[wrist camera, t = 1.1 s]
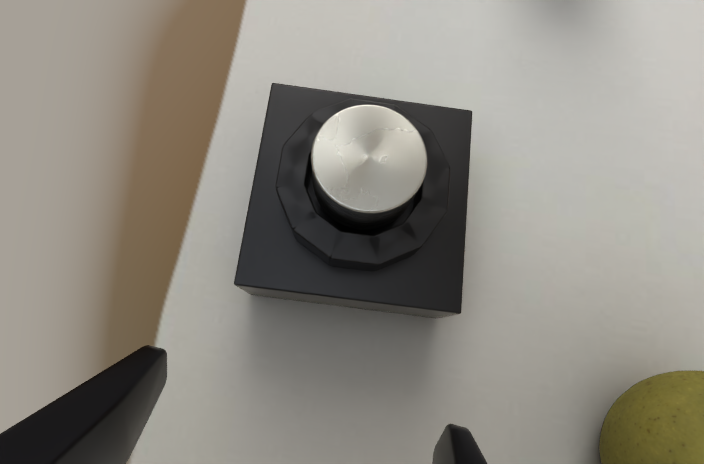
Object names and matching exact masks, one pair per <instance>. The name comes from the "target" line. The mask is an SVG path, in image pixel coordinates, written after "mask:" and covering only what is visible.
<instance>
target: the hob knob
mask: <svg viewBox="0 0 704 464" xmlns="http://www.w3.org/2000/svg"><path fill="white" fill-rule="evenodd" d="M311 167H312V179H313V188H314V193H315V195H316V198H317V200H318V202H319V204H320V206H321V207H322V209H323V210H324V211H325V212H326V213H327V214H328V215H329V216H330V217H331V218H332V219H334V220H335V221H337V222H338V223H340V224H342V225H345V226H347V227H350V228H355V229H363V230H367V229H376V228H380V227H383V226H386V225H388V224H390V223H392V222H393V221H395V220H396V219H397V218H399V217H400V216H401V215H402V214H403V213H404V211H405V210H406V209H407V207H408V206H409V204H410V203H411V201H412V199H413V198H414V196H415V194H416V193H417V191H418V190H419V188H420V186H421V184H422V182H423V180H424V177H425V174H426V169H427V152H426V148H425V144H424V142H423V140H422V137H421V136H420V134H419V132H418V131H417V129H416V128H415V127H414V125H413V124H412V123H411V122H410V121H409V120H407V119H406V118H405V117H404V116H402V115H401V114H399V113H397V112H396V111H393V110H391V109H389V108H386V107H382V106H377V105H358V106H353V107H349V108H346V109H344V110H341V111H339V112H338V113H336V114H334V115H333V116H332V117H330V118H329V119H328V120H327V121H326V122H325V123H324V124H323V125H322V127H321V128H320V129H319V131H318V133H317V134H316V136H315V139H314V141H313V145H312V149H311Z"/></svg>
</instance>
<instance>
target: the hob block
mask: <svg viewBox="0 0 704 464" xmlns="http://www.w3.org/2000/svg"><path fill="white" fill-rule="evenodd" d="M358 105H377V106H382V107H386V108H389V109H391V110H393V111H396V112H397V113H399V114H401V115H402V116H404V117H405V118H406V119H407V120H409V121H410V122H411V123H412V124H413V125H414V127H415V128H416V129H417V131H418V132H419V134H420V136H421V137H422V140H423V142H424V144H425V148H426V152H427V169H426V174H425V177H424V180H423V182H422V184H421V186H420V188H419V190H418V191H417V193H416V194H415V196H414V198H413V199H412V201H411V203H410V204H409V206H408V207H407V209H406V210H405V211H404V213H403V214H402V215H401V216H400V217H399V218H397V219H396V220H395V221H393V222H392V223H390V224H388V225H386V226H383V227H380V228H376V229H367V230H363V229H355V228H350V227H347V226H345V225H342V224H340V223H338V222H337V221H335V220H334V219H332V218H331V217H330V216H329V215H328V214H327V213H326V212H325V211H324V210H323V209H322V207H321V206H320V204H319V202H318V200H317V198H316V195H315V193H314V188H313V179H312V167H311V149H312V145H313V141H314V139H315V136H316V134H317V133H318V131H319V129H320V128H321V127H322V125H323V124H324V123H325V122H326V121H327V120H328V119H329V118H330V117H332V116H333V115H334V114H336V113H338V112H339V111H341V110H344V109H346V108H349V107H353V106H358ZM471 125H472V111H469V110H462V109H455V108H448V107H441V106H434V105H427V104H420V103H412V102H405V101H398V100H391V99H384V98H377V97H370V96H363V95H355V94H348V93H341V92H334V91H327V90H320V89H313V88H306V87H298V86H291V85H284V84H277V83H272V85H271V91H270V96H269V101H268V107H267V112H266V117H265V122H264V128H263V133H262V138H261V143H260V149H259V154H258V159H257V165H256V170H255V175H254V180H253V186H252V191H251V196H250V202H249V207H248V212H247V217H246V223H245V228H244V233H243V238H242V244H241V249H240V254H239V260H238V265H237V270H236V275H235V281H234V285H236V286H237V287H239V288H241V289H242V290H244V291H246V292H247V293H249V294H251V295H257V296H265V297H273V298H281V299H289V300H296V301H304V302H312V303H320V304H328V305H336V306H344V307H352V308H360V309H368V310H375V311H383V312H391V313H399V314H407V315H415V316H423V317H431V318H440V317H445V316H450V315H455V314H460V313H461V304H462V286H463V268H464V251H465V233H466V215H467V197H468V179H469V161H470V143H471Z"/></svg>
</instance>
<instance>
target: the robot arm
mask: <svg viewBox="0 0 704 464" xmlns="http://www.w3.org/2000/svg"><path fill="white" fill-rule="evenodd" d="M166 379H167V353H166V351H165V350H164V349H161V348H158V347H154V346H149V345H147V346H144V347H142V348H140V349H138V350H137V351H135V352H133V353H132V354H130V355H128V356H127V357H125V358H124V359H122V360H120V361H119V362H117V363H116V364H114V365H112V366H111V367H109V368H107V369H106V370H104V371H102V372H101V373H99V374H97V375H96V376H94V377H93V378H91V379H89V380H88V381H86V382H84V383H83V384H81V385H79V386H78V387H76V388H75V389H73V390H71V391H70V392H68V393H66V394H65V395H63V396H62V397H60V398H58V399H56V400H55V401H53V402H52V403H50V404H48V405H47V406H45V407H43V408H42V409H40V410H38V411H37V412H35V413H34V414H32V415H30V416H29V417H27V418H25V419H24V420H22V421H20V422H19V423H17V424H16V425H14V426H12V427H11V428H9V429H7V430H6V431H4V432H3V433H1V434H0V464H126V462H127V461H128V459H129V457H130V455H131V453H132V451H133V449H134V447H135V445H136V443H137V441H138V439H139V437H140V435H141V433H142V431H143V429H144V427H145V425H146V423H147V421H148V419H149V417H150V415H151V413H152V410H153V408H154V406H155V404H156V402H157V400H158V398H159V396H160V394H161V392H162V390H163V388H164V386H165V383H166ZM432 464H487V462H486V460H485V458H484V456H483V455H482V453H481V451H480V449H479V447H478V445H477V443H476V442H475V440H474V438H473V436H472V434H471V432H470V431H469V430H468V429H467V428H465V427H461V426H457V425H454V424H448V425H447V426H446V427H445V429H444V431H443V433H442V435H441V437H440V439H439V440H438V442H437V444H436V446H435V449H434V453H433V462H432Z"/></svg>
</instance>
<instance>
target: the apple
mask: <svg viewBox="0 0 704 464" xmlns="http://www.w3.org/2000/svg"><path fill="white" fill-rule="evenodd" d="M599 449H600V458H601V464H704V371H675V372H668V373H664V374H659V375H656V376H653V377H650V378H647V379H645V380H643V381H640V382H639V383H637V384H635V385H633V386H632V387H631V388H630V389H628V390H627V391H626V392H625V393H623V394H622V395H621V396H620V397H619V398H618V399H617V400H616V401H615V403H614V404H613V405H612V407H611V408H610V410H609V411H608V413H607V416H606V418H605V420H604V423H603V426H602V430H601V435H600V444H599Z"/></svg>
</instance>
